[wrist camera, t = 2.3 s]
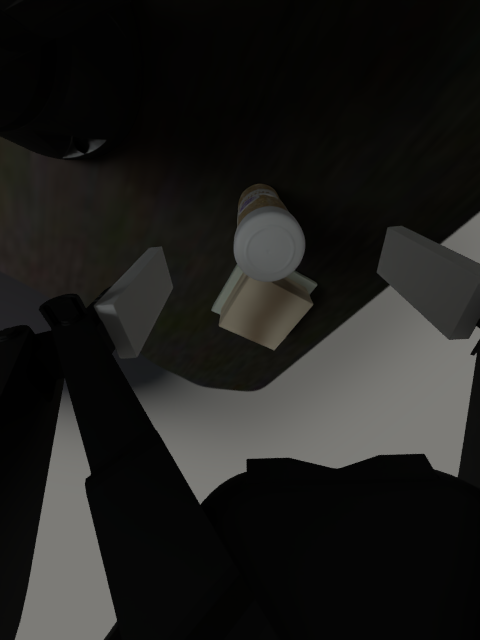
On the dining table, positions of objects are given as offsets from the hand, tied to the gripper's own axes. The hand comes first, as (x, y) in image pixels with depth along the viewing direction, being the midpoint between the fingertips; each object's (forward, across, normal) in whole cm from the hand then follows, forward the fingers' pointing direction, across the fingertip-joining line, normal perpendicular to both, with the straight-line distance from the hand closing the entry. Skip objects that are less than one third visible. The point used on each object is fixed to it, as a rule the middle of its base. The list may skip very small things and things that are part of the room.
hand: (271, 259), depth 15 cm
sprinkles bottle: (+14, 0, 0) cm, 14 cm away
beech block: (+13, 0, -10) cm, 17 cm away
